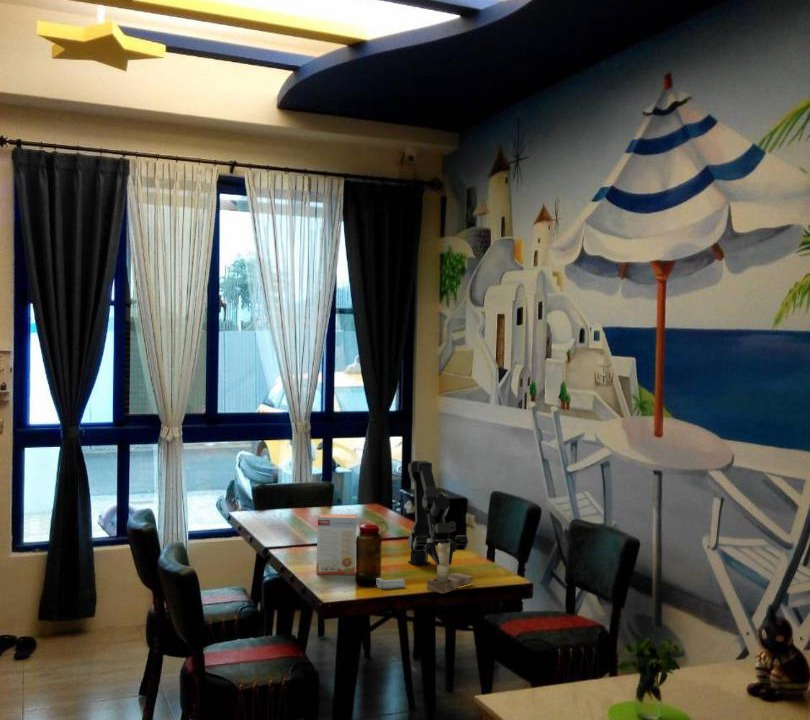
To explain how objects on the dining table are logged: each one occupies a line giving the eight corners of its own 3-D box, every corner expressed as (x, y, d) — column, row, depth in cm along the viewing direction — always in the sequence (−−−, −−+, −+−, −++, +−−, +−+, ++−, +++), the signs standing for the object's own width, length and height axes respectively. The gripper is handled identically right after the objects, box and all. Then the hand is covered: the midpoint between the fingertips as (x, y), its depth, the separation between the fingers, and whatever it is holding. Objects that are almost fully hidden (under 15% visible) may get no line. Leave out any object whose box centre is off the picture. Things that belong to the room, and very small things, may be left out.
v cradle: (372, 581, 301) (372, 574, 301) (405, 586, 297) (405, 579, 297) (365, 586, 295) (365, 579, 295) (398, 591, 291) (399, 584, 290)
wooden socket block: (456, 580, 307) (456, 572, 306) (471, 585, 302) (472, 576, 302) (426, 588, 295) (427, 580, 295) (442, 593, 290) (442, 584, 290)
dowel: (441, 581, 298) (443, 541, 298) (450, 584, 295) (452, 543, 295) (434, 583, 295) (435, 543, 295) (442, 586, 293) (444, 545, 292)
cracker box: (355, 571, 314) (357, 514, 313) (354, 575, 308) (357, 517, 307) (316, 570, 313) (319, 513, 313) (315, 574, 307) (317, 516, 307)
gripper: (416, 512, 296) (422, 552, 286) (467, 512, 301) (476, 551, 290) (410, 530, 304) (416, 569, 294) (460, 529, 308) (468, 568, 298)
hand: (444, 564), depth 294 cm, fingers closed on dowel, 4 cm apart
